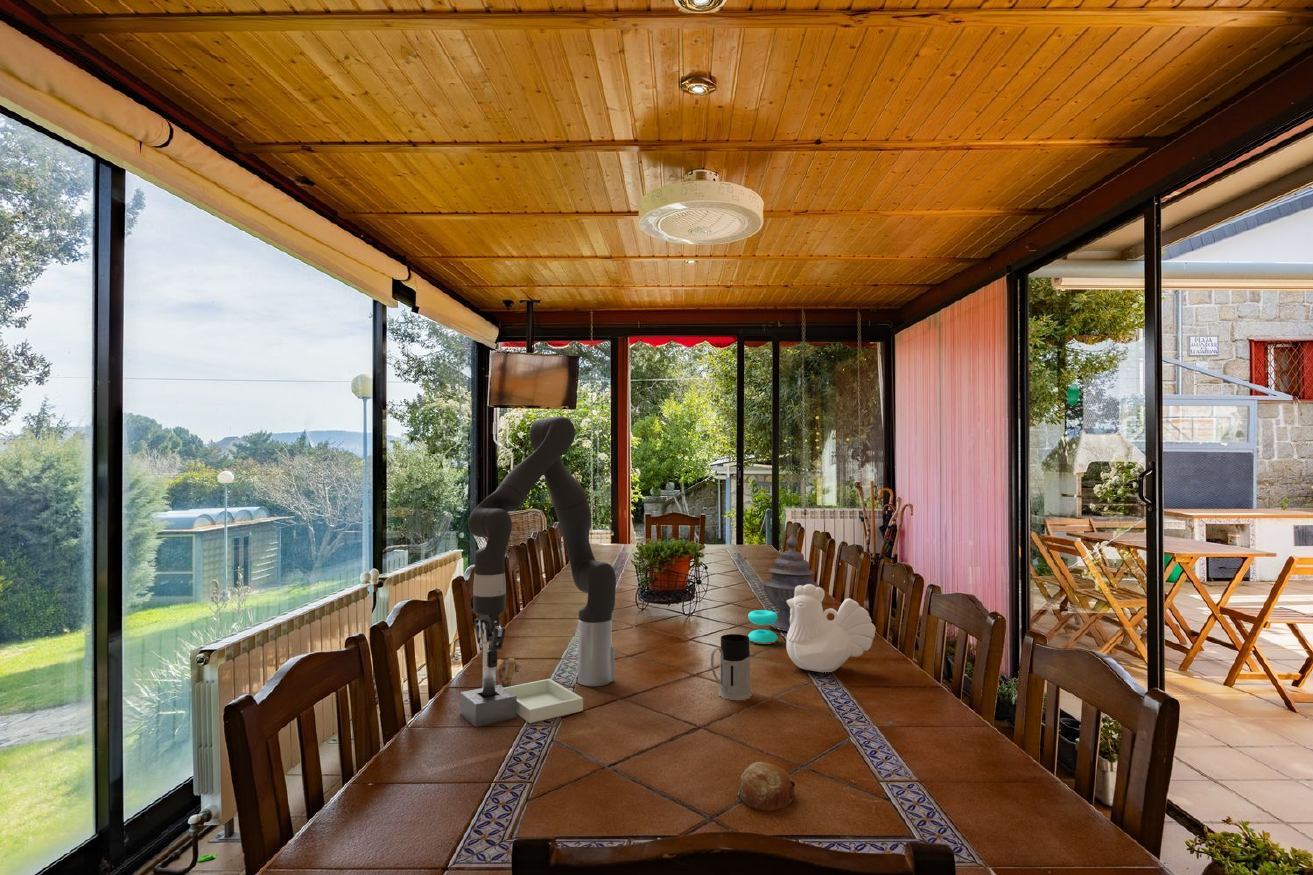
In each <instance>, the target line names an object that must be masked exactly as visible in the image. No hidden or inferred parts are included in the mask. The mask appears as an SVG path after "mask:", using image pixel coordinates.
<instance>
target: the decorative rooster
mask: <svg viewBox="0 0 1313 875" xmlns="http://www.w3.org/2000/svg"><path fill="white" fill-rule="evenodd" d="M825 592H826V591H825V590H824V589H823V588H822V587H820V586H819V587H816V586H814V585H812V584H807V585H804V586H802V585H799V586H797V587H796V588H795V596H794V598H792V599H789V600H787V601H786V602H787V604H788V605H789V607H790V624H791V625H790V628H789V631H788V632H787V634H786V637H785V638H786V643H785V644H786V646H785V647H786V652H787V654H788V657H789V658H790V660H791V662H793V664H795V665H796V666H797V667H798V668H800V669H802V670H805V671H807V670H808V671H812V672H818V673H824V672H825V673H824V674H827V673H826V672H832V671H834V672H835V671H836V670H838V669H839V668H840V667H841V666H842V665H843V664H844V663H845V662H846V661H847V660H848V659H849V658H850V657H852V658H853V657H855V658H857V657H858V658H859V657H861V656H862V655H863V654H864V652H867V651H869V650H870V649H871V647H872V644H873V640H874V638H875V634H876V633H875V632H876V626H875V625H874V623H872V618H871V616H870V613H869V612H868V610H867V609H865V608H863V607H862V606H861V605H860V604H859V602H857V601H855V600H853V599H852V598H849V597H848V598H845V599H844V600H843V602H842V603H841V605H840V606H839V608H838V610H835V609H834V608H832V607H831V608H826V609H825V610H823V604H822V602H823V600H824V598H825V594H826V593H825ZM829 614H832V615H833V616H834V618H833V619H832V620H831V619H828V615H829ZM832 673H833V672H832Z"/></svg>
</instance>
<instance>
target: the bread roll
mask: <svg viewBox="0 0 1313 875" xmlns="http://www.w3.org/2000/svg"><path fill="white" fill-rule="evenodd" d="M795 786H796V783H795V781H794V780H793V779H792V777H791V776H790V774H789V773H788V772H787V771H786V770H785V769H783V768H782V767H779V766H777V765H776V764H772V763H768V762H763V761H756V762H753V763H751V764H750V765H748V766H747V768H745V769H744V770H743V773H742V774H741V775H740V782H739V789H738V792H737V795H738V797H740V798H741V801H743V803H745V805H746V806H748V807H749V808H752V809H755V810H760V811H768V812H769V811H775V810H779V809H778V808H780V809H784V808H786V807H788V806H789V805H790V804H792V802H793V801H794V798H795V797H794V796H795ZM787 805H788V806H787Z"/></svg>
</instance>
